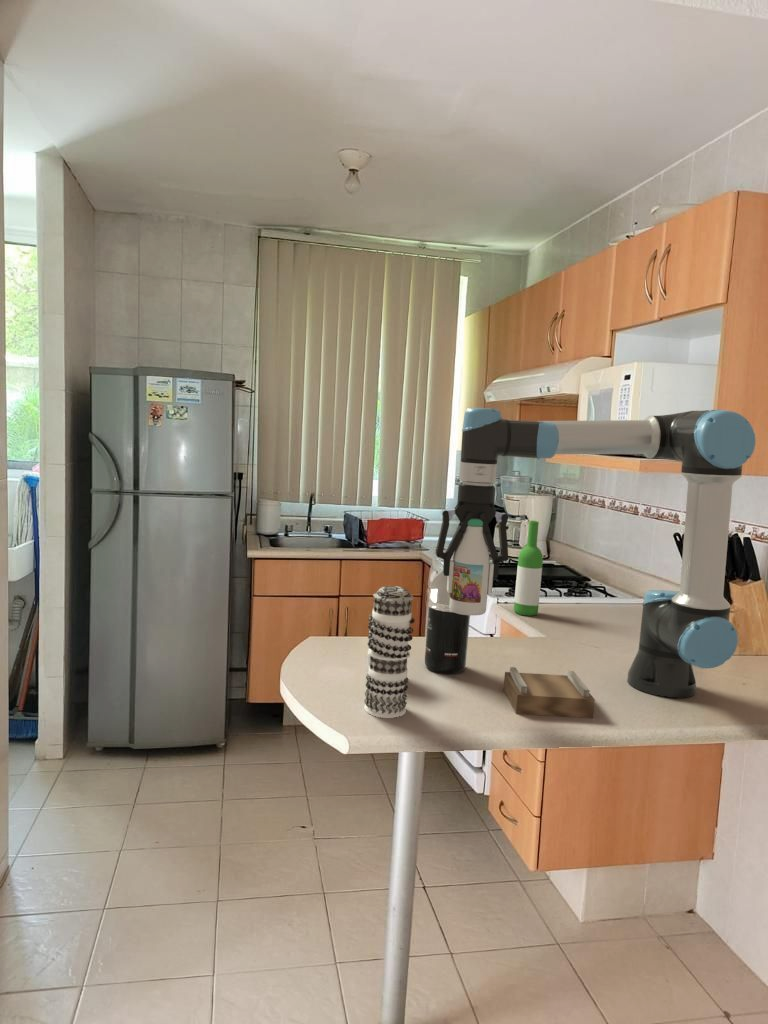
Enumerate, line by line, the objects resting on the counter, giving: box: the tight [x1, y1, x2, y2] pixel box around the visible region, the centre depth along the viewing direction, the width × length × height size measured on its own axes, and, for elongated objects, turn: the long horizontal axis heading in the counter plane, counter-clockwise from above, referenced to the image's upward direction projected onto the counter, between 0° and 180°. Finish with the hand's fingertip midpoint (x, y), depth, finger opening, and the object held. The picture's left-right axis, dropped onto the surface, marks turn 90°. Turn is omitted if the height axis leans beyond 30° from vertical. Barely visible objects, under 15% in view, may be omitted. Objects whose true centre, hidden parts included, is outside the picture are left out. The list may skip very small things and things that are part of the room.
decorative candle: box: [363, 585, 416, 719], centre depth 146 cm, size 9×9×25 cm
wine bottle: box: [513, 520, 544, 617], centre depth 233 cm, size 8×8×30 cm
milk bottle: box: [449, 518, 491, 616], centre depth 152 cm, size 8×8×20 cm
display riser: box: [503, 666, 596, 719], centre depth 157 cm, size 16×14×6 cm
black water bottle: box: [424, 570, 471, 675], centre depth 174 cm, size 10×10×25 cm
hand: (468, 592), depth 153 cm, fingers closed on milk bottle, 8 cm apart
